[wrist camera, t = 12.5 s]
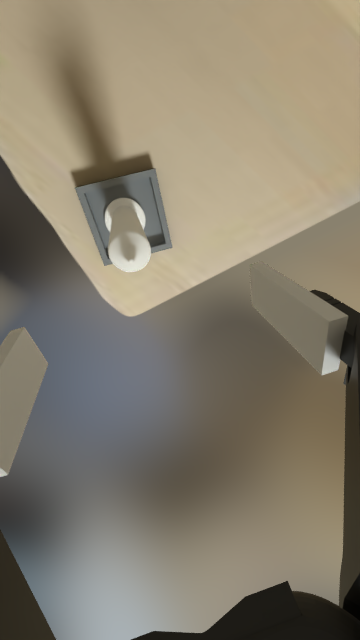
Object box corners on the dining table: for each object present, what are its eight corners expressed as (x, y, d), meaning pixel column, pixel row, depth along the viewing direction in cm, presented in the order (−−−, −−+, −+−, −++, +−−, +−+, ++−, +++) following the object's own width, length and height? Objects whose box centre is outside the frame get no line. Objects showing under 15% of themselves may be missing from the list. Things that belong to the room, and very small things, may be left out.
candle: (96, 208, 43) (76, 243, 22) (133, 190, 43) (148, 208, 22) (117, 246, 47) (116, 306, 26) (151, 229, 47) (178, 277, 26)
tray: (77, 187, 42) (75, 188, 40) (153, 168, 43) (155, 168, 41) (105, 261, 49) (104, 265, 47) (170, 244, 50) (172, 247, 48)
